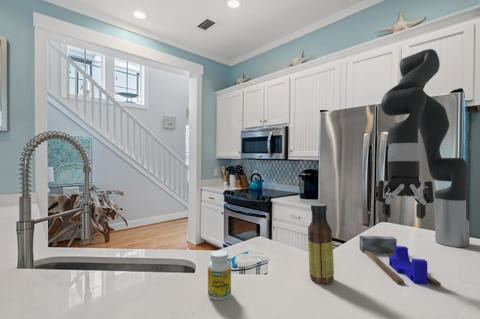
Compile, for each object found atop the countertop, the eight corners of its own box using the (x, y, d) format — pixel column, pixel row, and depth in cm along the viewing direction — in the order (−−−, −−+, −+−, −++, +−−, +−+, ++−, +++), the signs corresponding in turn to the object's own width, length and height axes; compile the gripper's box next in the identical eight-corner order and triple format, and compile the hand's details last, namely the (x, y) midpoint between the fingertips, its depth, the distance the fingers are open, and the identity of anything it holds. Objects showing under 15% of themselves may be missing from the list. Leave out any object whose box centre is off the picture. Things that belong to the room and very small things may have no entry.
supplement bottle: (228, 287, 61) (228, 248, 61) (232, 299, 56) (233, 256, 56) (206, 290, 60) (206, 250, 60) (208, 302, 55) (209, 258, 55)
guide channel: (392, 251, 88) (392, 236, 88) (442, 287, 62) (442, 266, 62) (359, 249, 89) (359, 235, 89) (395, 284, 63) (395, 264, 63)
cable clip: (389, 265, 76) (389, 245, 76) (405, 266, 75) (405, 246, 75) (407, 283, 64) (407, 260, 64) (427, 285, 63) (427, 261, 63)
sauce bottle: (333, 276, 67) (333, 203, 68) (334, 287, 62) (334, 206, 62) (308, 273, 70) (308, 201, 70) (307, 283, 64) (307, 205, 64)
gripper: (422, 160, 73) (422, 215, 73) (371, 160, 75) (371, 214, 75) (439, 159, 66) (440, 221, 65) (382, 159, 67) (382, 219, 67)
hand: (403, 217), depth 70 cm, fingers open, 8 cm apart
